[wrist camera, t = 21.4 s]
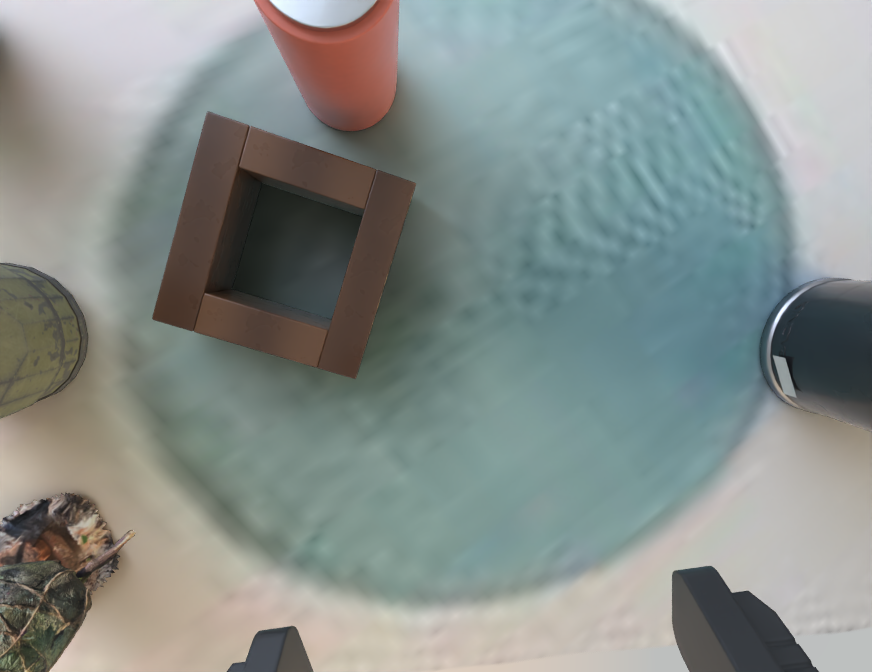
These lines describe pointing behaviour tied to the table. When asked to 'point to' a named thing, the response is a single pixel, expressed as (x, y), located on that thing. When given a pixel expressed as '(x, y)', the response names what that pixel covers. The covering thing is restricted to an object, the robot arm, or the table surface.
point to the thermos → (36, 337)
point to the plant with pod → (49, 578)
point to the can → (339, 55)
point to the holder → (227, 230)
